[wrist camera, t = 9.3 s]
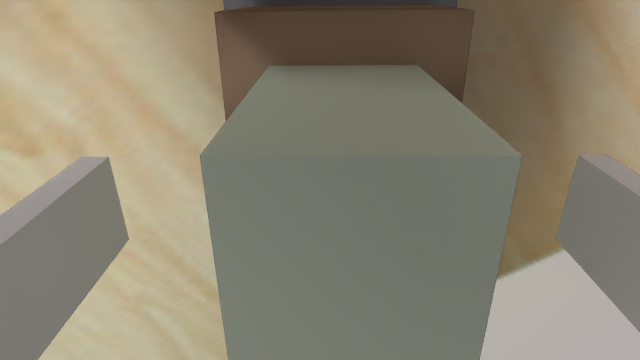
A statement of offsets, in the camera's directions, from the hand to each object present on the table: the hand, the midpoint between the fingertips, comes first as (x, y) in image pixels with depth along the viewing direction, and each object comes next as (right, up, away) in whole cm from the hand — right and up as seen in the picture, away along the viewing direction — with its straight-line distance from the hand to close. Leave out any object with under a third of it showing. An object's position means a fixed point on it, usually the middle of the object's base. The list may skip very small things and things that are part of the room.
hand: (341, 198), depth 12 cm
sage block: (0, +2, +6) cm, 7 cm away
